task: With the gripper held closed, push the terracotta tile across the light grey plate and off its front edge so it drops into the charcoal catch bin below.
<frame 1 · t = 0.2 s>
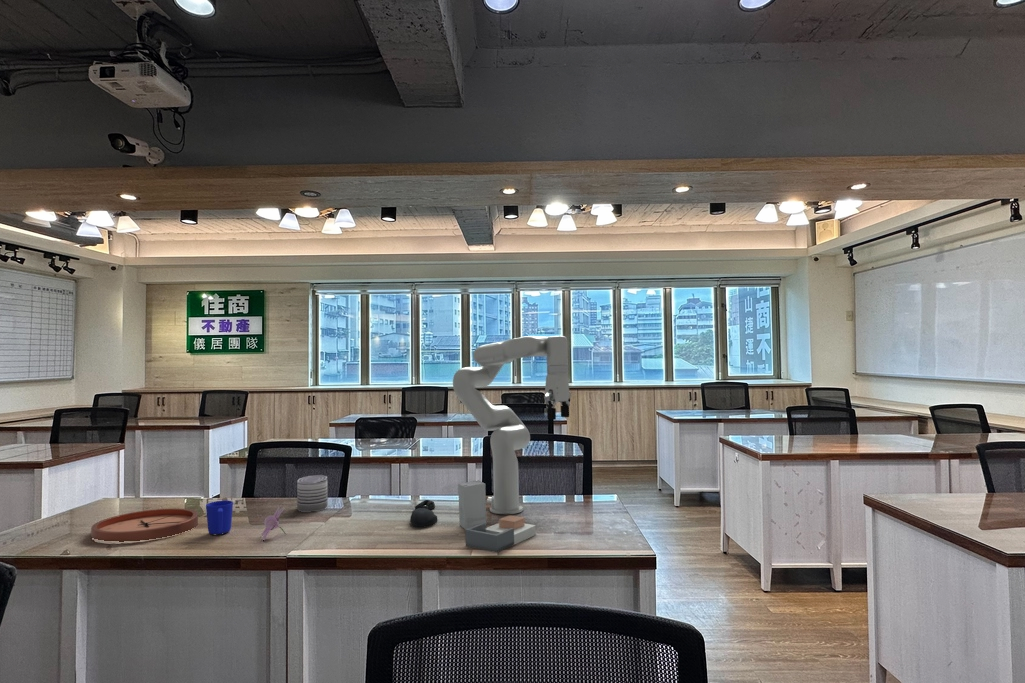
hand: (558, 418, 212), 36 cm above the table, tool pointing down, fingers open, 9 cm apart
catch bin: (489, 545, 183), on the table
plate: (509, 536, 192), on the table
tile: (511, 526, 193), point 3 cm above the table, touching plate
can: (312, 509, 233), on the table
clock: (146, 532, 205), on the table
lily: (272, 537, 195), on the table
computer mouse: (425, 517, 219), on the table
skincare box: (472, 526, 205), on the table
mug: (219, 535, 199), on the table
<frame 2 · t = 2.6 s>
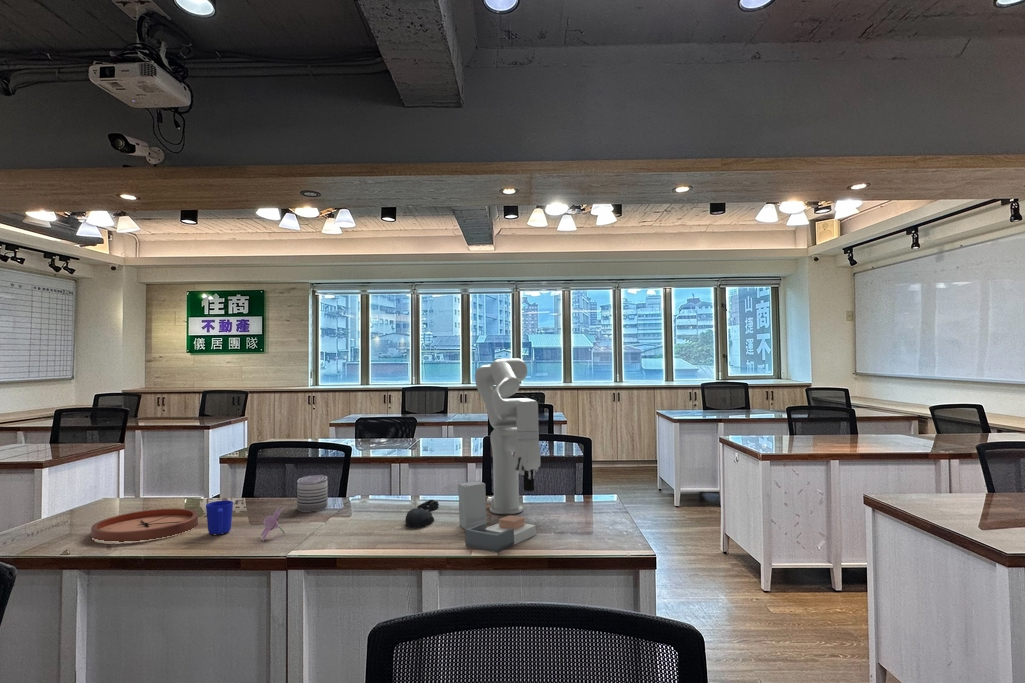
hand: (529, 490, 201), 13 cm above the table, tool pointing down, fingers closed
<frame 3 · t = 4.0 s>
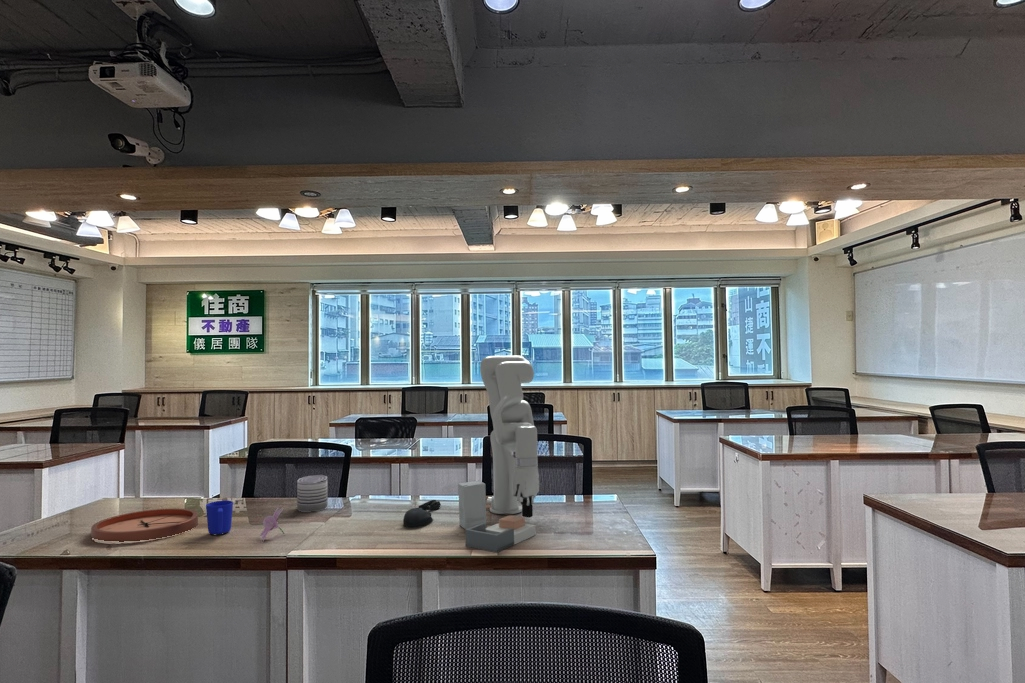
hand: (527, 516, 201), 4 cm above the table, tool pointing down, fingers closed
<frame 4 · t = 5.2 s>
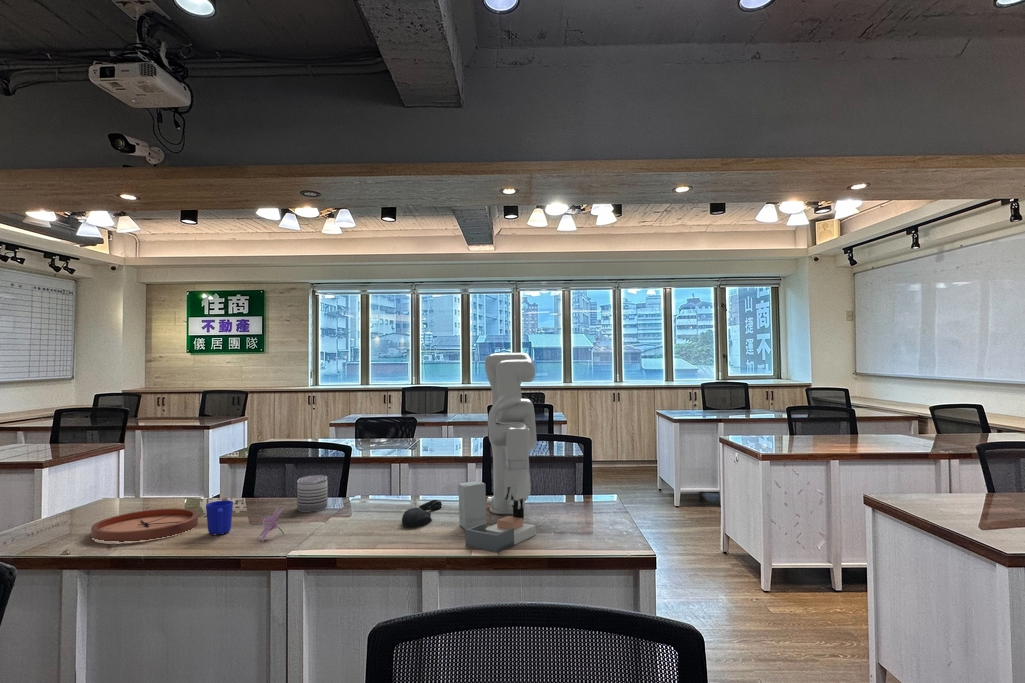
hand: (518, 519, 196), 4 cm above the table, tool pointing down, fingers closed
tile: (510, 526, 193), point 3 cm above the table, touching gripper, plate
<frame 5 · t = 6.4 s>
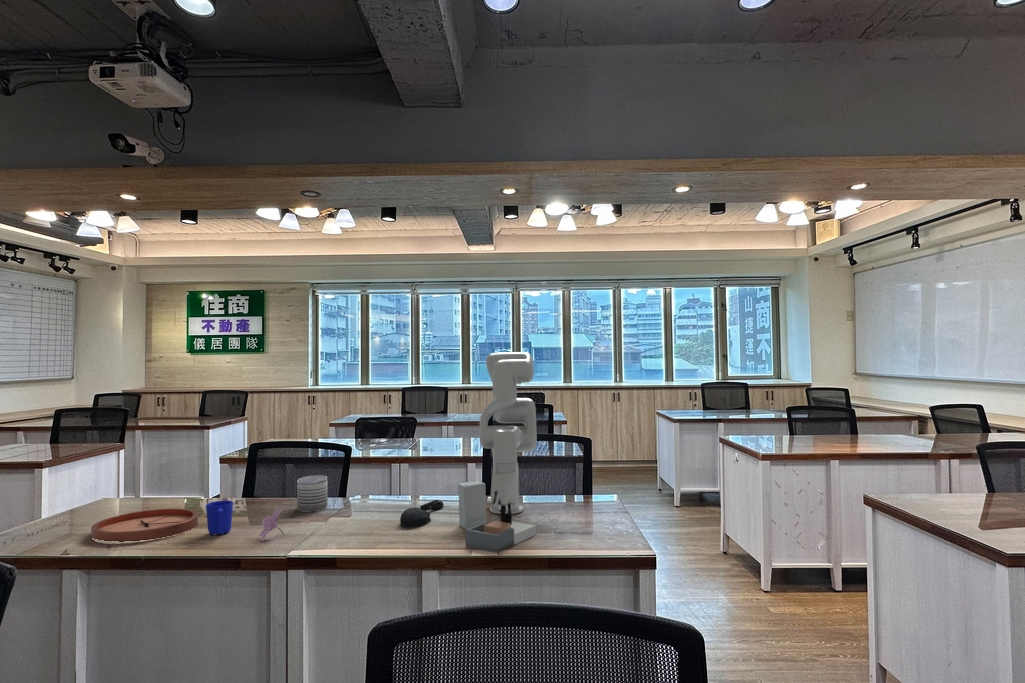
hand: (506, 524, 191), 4 cm above the table, tool pointing down, fingers closed
tile: (497, 532, 187), point 3 cm above the table
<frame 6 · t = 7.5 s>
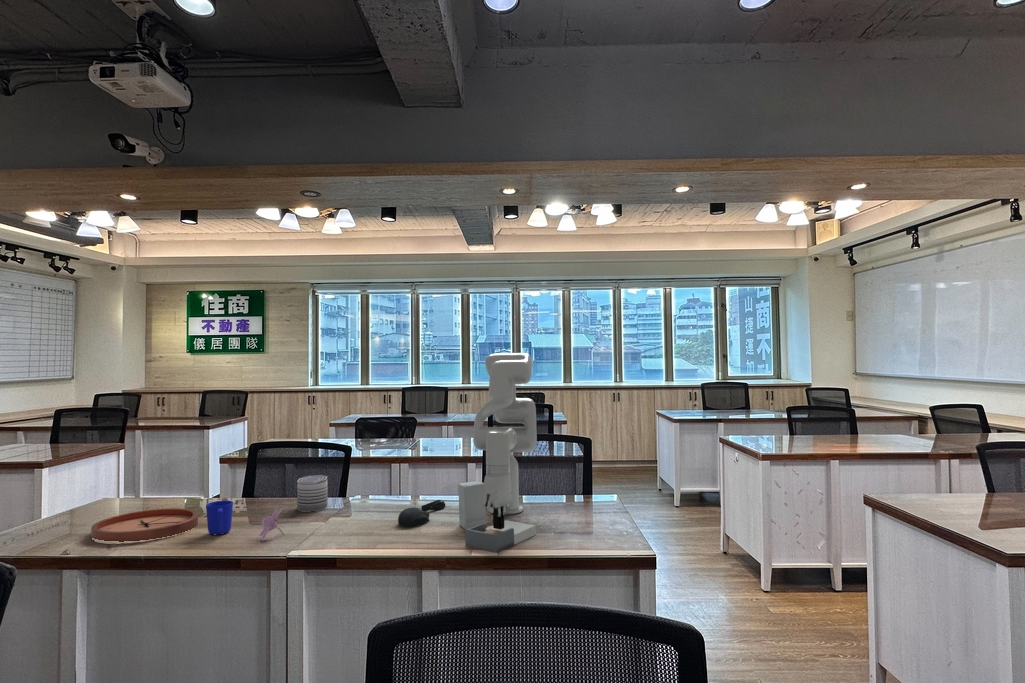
hand: (498, 528, 187), 4 cm above the table, tool pointing down, fingers closed
tile: (492, 540, 185), point 1 cm above the table, touching catch bin
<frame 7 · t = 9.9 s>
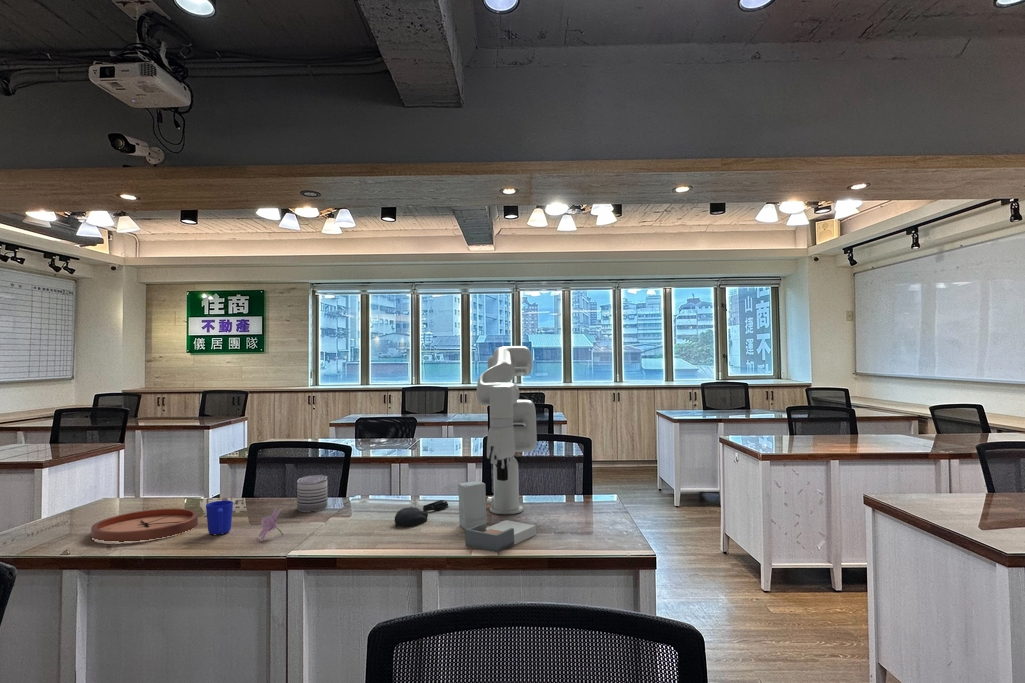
hand: (502, 479, 192), 18 cm above the table, tool pointing down, fingers closed
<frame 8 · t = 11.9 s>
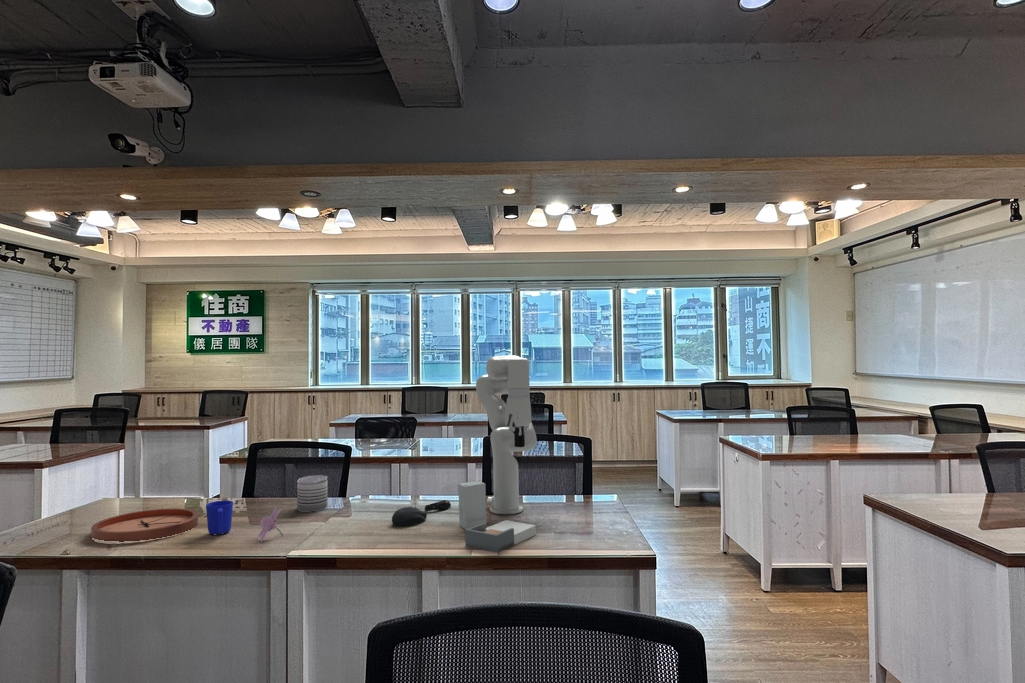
hand: (519, 446, 205), 27 cm above the table, tool pointing down, fingers closed
at the end: tile inside the target area on the catch bin (1.1 cm from its centre), point 1.0 cm above the catch bin's base; tile moved 10.8 cm from its start; the gripper is holding nothing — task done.
